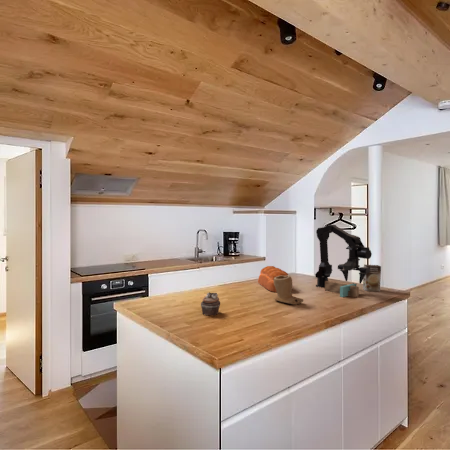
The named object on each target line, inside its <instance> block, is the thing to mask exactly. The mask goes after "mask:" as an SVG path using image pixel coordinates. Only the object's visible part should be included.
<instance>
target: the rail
mask: <svg viewBox="0 0 450 450" xmlns="http://www.w3.org/2000/svg"><path fill="white" fill-rule="evenodd" d="M345 285H348V284H347V283H346V284H345V283H341V282H335V281H330V280H328V281H325V287H324V291H325V292H330V293H335V294H339V295H340V287H341V286H345ZM348 296H349V297H353V298H354V297H355V298H359V286H350V291H348ZM348 296H347V297H348Z"/></svg>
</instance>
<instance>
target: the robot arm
mask: <svg viewBox="0 0 450 450" xmlns="http://www.w3.org/2000/svg"><path fill="white" fill-rule="evenodd" d="M315 232H316V238H317V239H318V241H319V253H320V263H319V265H318V270H317V272H316V273H314V275H315V278H317V280H316V281H317V283H316V284H315V287H318V288H319V287H320V288H323V289H325V281H329V278H330V277H331V275H332V271H333V264H330V262H329V250H328V248H329V247H328V246H329V245H328V240H329V237H330V234H332V233H333V234H335V235H336V236H338V237H339V238H341V239H343V240H344V242H345V243H346V244H347V247H345V249H346V250H348V258H347V261H346V262H344V263H340V264H337V270H339V271H341V273H342V274H343V277H344V280H345V281H346V282H348V278H349V271H352V270H353V271H358V274H359V281H358V283H359V284H362V283H363V278H364V277H365V275H366V274H367V273H369V272H370V268H369V267H364V266H362V267H361V266H360V263H359V262H360V260H361V259H366V260H369V259H371V257H372V255H373V254H372V251H371V249H370V247H368V246H367V247H366V246H365V245H364V243H363V242H362V240H361V238H360V237H359V236H358V235H354V234H350V233H348V232H347V231H345V230H343V229H341V228H340V227H338V226H337V225H336V224H329V225H327V226H323V227H318V228H317V229H316V231H315ZM333 272H334V271H333Z"/></svg>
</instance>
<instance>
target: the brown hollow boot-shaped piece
mask: <svg viewBox="0 0 450 450" xmlns="http://www.w3.org/2000/svg"><path fill="white" fill-rule="evenodd" d="M274 285H275V288H276V291H277V292H276V294H277V295H276V296H275V297H274V298H273V300H275V301H278V302H281V303H285V304H289V305H295V306H296V305H299V304H301V303H303V302H304V299H303V298H301V297H298V296H297V297H296V296H293V294H292V290H293V278H292V276H291V275H289V274H288V275H287V276H284V275H281V276H277V277H275V278H274Z"/></svg>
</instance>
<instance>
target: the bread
mask: <svg viewBox="0 0 450 450" xmlns="http://www.w3.org/2000/svg"><path fill="white" fill-rule="evenodd" d="M281 275H284V276H287V275H289V273H288V272H286V271H285V270H283V269H281V268H279V267H276V266H275V265H266V266H265V267H263V268H262V269H261V270H260V273H259V276H258V279H257V283H258V284H259V285H261V286H262V287H263V288H264V289H266V290H267V291H270V292H272V293H277V291H276V288H275V285H274V278H275V277H277V276H281Z"/></svg>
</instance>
